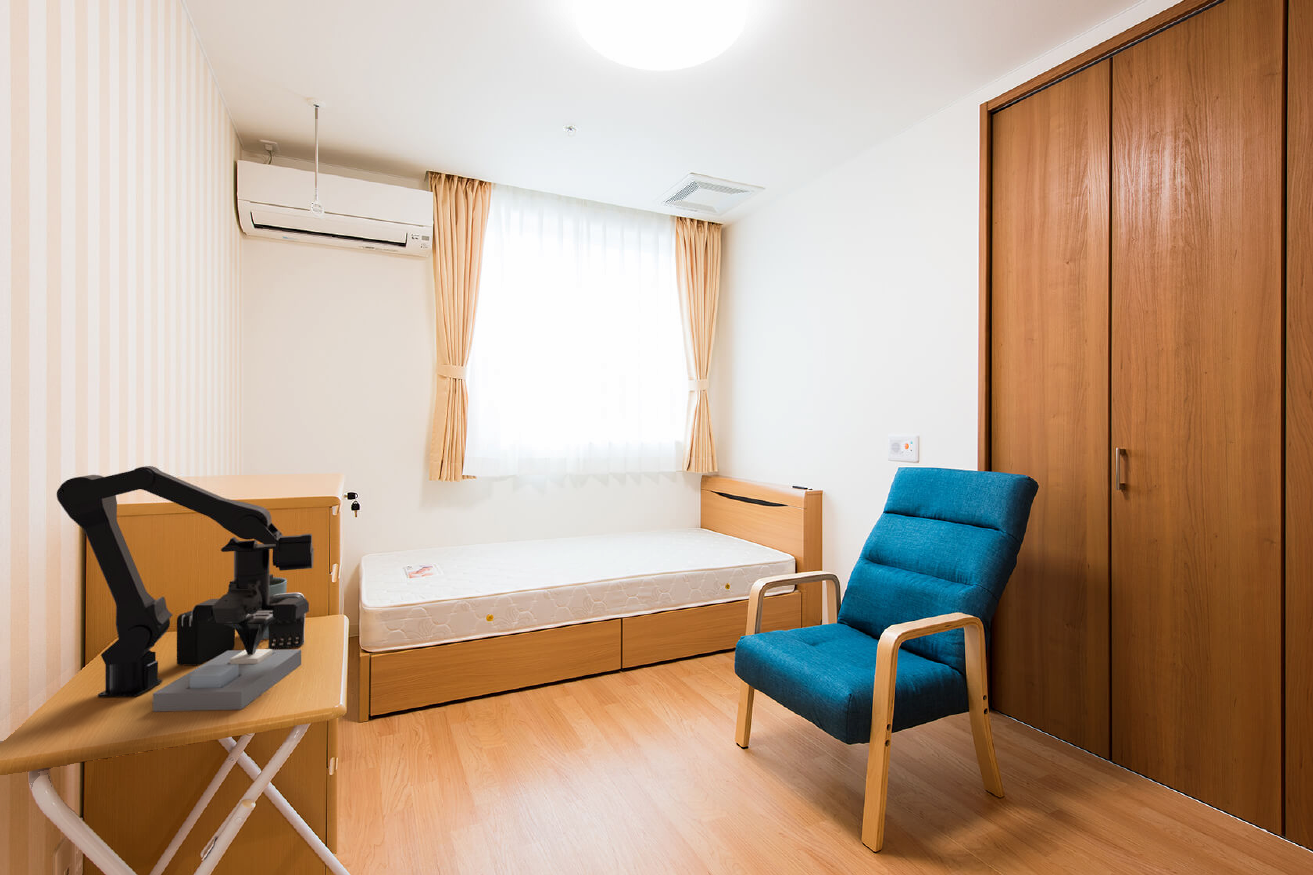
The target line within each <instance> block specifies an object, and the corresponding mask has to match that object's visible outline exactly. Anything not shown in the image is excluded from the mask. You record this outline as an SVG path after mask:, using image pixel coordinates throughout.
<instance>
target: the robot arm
mask: <svg viewBox="0 0 1313 875" xmlns="http://www.w3.org/2000/svg"><path fill="white" fill-rule="evenodd" d="M138 490H142V491H145V492H148V493H150V494H153V495H154V496H157V497H159V498H162V499H165V500H166V501H169V502H172V503H174V504H176V505H179V506H182V507H183V508H186V509H189V510H191V511H194V512H196V513H199V514H200V515H204V516H206V517H209V518H210V519H211V520H213V521H214V522H216V523H217V524H218V525H220V526H221V527H222V528H223V529H225V530H226V531H228V532H229V533H231V534H232V535H235V536H236V537H238V538H240V539H242V540H239V539H238V538H236V537H235V536H233V537H231V538H230V539H229V541H228V542H227V544H225V545H223V547H222V548H220V551H221V552H223V553H225V552H226V553H227V552H233V580H231V581H229V584H228V590H227V592H226V593H225V594H223V595H222V596H221V597H220V598H209V599H207V600H205V601H203V602H200V603H197V604H195V606H193V608H192V610H190V611H191V621H208V620H210V619H211V618H212V617H213V615H214V616H215V620H216V622H217V623H222V622H223V623H224V624H225V625H229V626H231V627H233V628H234V629H235V632H236V633H237V634H238V636H239V639H240V641H241V643H242V645H243V647H244V650H246V652H247V654H248V655H252V654H254V653H255V652H256V650H257V649H258V648H259V645H260V643H261V641H262V640H261V639H262V637H263V634H264V632H265V630H266V629H267V627H268V625H269V624H270V622H271V620H272V619H274V618H275V619H276V620H294V619H297V618H299V617H300V616H302V615H304V614H305V615H306V614H307V613H309V611H310V607H309V606H310V603H309V600H307V599H306V597H305V598H287V599H285V600H283V601H281V602H279V603H277V604H269V602H271V601H273V595H269V581H271V580H273V577H274V574H270V568H271V567H270V560H271V559H272V560H271V561H272V566H273V567H275V568H277V569H278V571H292V570H295V571H296V570H306V569H309V570H310V569H313V567H314V561H315V560H314V559H315V557H314V556H315V548H314V547H313V546H314V545H313V534H312V533H303V534H298V535H297V534H295V535H284V534H283V533H282V532H281V530H279V529H278V528H277V527H276V525H275V524H273V523H272V516H271V515H272V514H271V513H270V511H269V509H267V508H265V507H263V506H260V505H256V504H254V503H253V504H252V503H248V502H246V501H245V502H244V501H239V500H234V499H229V498H225V497H222V496H220V495H218V494H216V493H213V492H210V491H208V490H206V489H204V488H201V487H199V486H197V485H194V484H191V483H190V482H187V481H185V480H183V479H180V478H178V477H176V476H173V475H171V474H168V473H166V472H164V471H162V470H160V469H159V468H158V467H155V466H153V465H146V466H141V467H136V468H135V469H133V470H129V471H123V472H119V473H116V474H112V475H111V474H110V475H108V476H107V475H106V476H103V475H99V474H89V475H84V476H77V477H72V478H69V479H67V480H65V481H63V483H62V484H60V486H59V487H58V489H57V491H56V499H57V501H58V503H59V504H60V506H61V507H62V508H63V510H64V512H65V513H66V514H67V515H68V517H69V518H70V519H71V520H72V521H73V522H74V523H76V525H78V526H79V527H80V528H81V529H82V530H83V531H84V533H85V535H86V538H87V540H88V542H89V545H90V547H91V549H92V553H93V554H94V557H95V558H96V561H97V564H98V565H99V568H100V570H101V572H102V575H103V577H104V579H105V583H106V584H107V588H109V591H110V593H111V596H112V598H113V601H114V603H115V627H116V628H115V629H116V634H117V640H115V642H113V643H112V644H111V645H110V646H109V647H107V649H105V650H104V651H103V652H102V653H101V655H100V656H101V659H102V660H103V662H104V664H105V667H104V668H105V670H104V671H105V680H104V682H105V684H104V686H105V689H104V690H102V691H101V692H99V693H98V694H97V698H112V697H113V698H121V697H125V698H126V697H138V696H139V695H142V694H143V693H145V692H147V691H148V690H150V689H152V688H154V687H156V686H158V685H159V684H161V683H162V682H163V680H162V678H159V662H158V660H156V651H152V650H151V649H152V648H153V647H155V645H156V644H157V643H158V641H159V640H160V639H161V638H162V637H163V636H164V635H165V634H166V633H167V632H168V630H169V629H170V626H171V621H170V620H171V617H172V616H173V613H172V612H171V611H169V609H168V606H167V603H166V599H165V596H161V597H159V598H157V599H155V598H154V597H153V596H152V595H151V594H149V593H148V591H147V589H146V588H145V585H144V583H143V580H142V578H141V576H140V572H139V571H138V569H137V565H136V563H135V561H134V558H133V557H132V553H131V551H130V549H129V547H128V545H127V541H126V539H125V537H124V534H123V533H122V530H121V528H120V526H119V523H118V519H117V517H118V513H117V512H118V501H117V496H118V495H123V494H126V493H131V492H133V491H134V492H135V491H138ZM258 542H259V543H258ZM270 550H272V558H271V559H270V556H271V555H270V552H271V551H270ZM260 608H261V609H260Z"/></svg>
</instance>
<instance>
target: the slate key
mask: <svg viewBox="0 0 1313 875" xmlns="http://www.w3.org/2000/svg"><path fill="white" fill-rule="evenodd" d="M238 677H239V664H231V665H208V666H206V667H205V668H203V669H201V670H199V671H198V672H196V673H194V674H193V675H191V676H190V689H204V688H223V687H224V686H226V685H227V684H229V683H230V682H232V681H233V680H235V679H236V678H238Z"/></svg>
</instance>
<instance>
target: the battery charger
mask: <svg viewBox="0 0 1313 875" xmlns="http://www.w3.org/2000/svg"><path fill="white" fill-rule="evenodd" d="M287 598H305V599H306V597H305V596H304V594H303V593H301V592H286V593H283V594H276V595H273V601H271V602H269V604H277V603H279V602H281V601H283V600H285V599H287ZM305 623H306V613H305V614H304V615H302V616H300V617H299V618H297V619H294V620H276V619H275V618H274V619H272V620H271V622H270V624H269V625H268V631H269V638H268V646H267V647H268V648H267V649H272V650H287V649H292V648H299V647H301V646H303V645H304V644H305V627H306V626H305V625H306V624H305Z"/></svg>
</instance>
